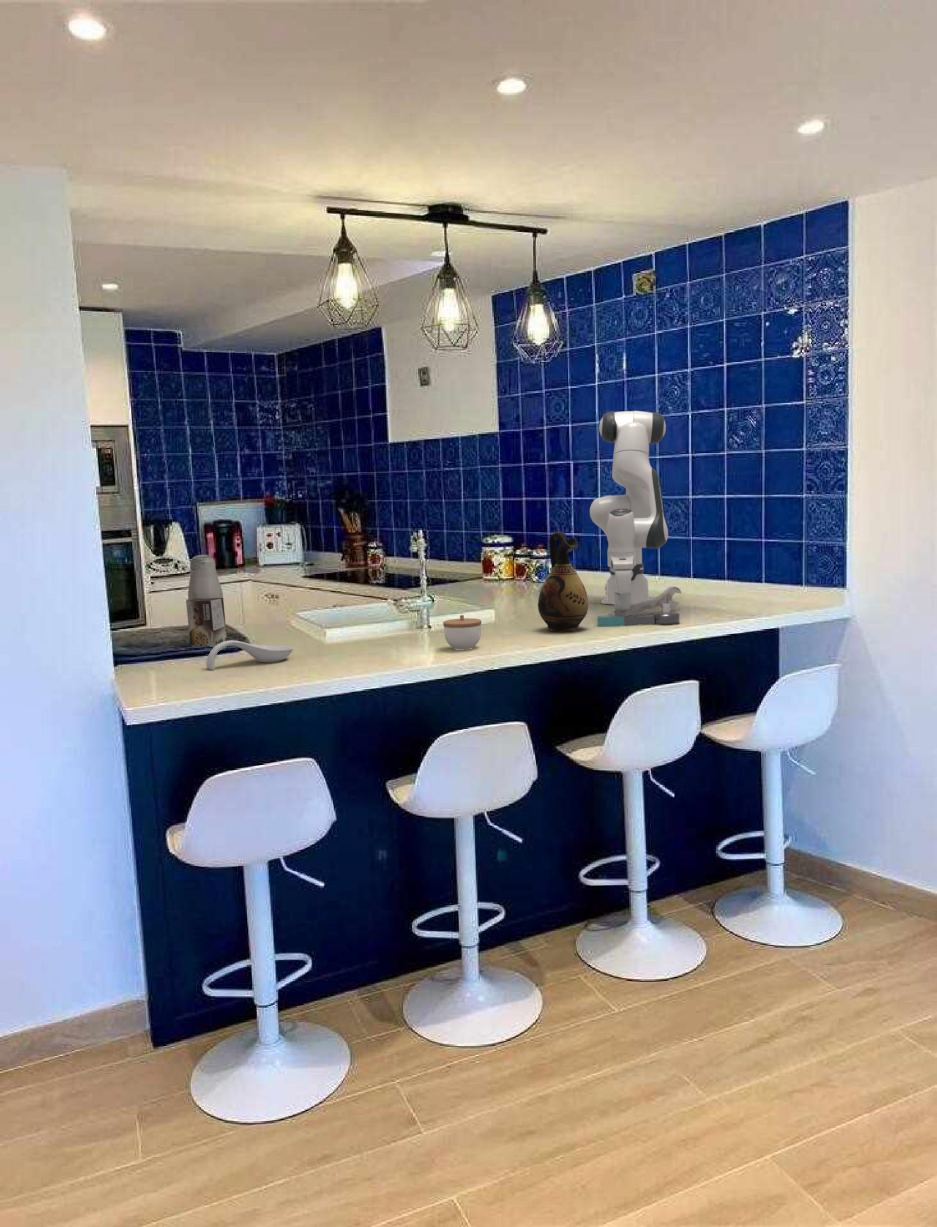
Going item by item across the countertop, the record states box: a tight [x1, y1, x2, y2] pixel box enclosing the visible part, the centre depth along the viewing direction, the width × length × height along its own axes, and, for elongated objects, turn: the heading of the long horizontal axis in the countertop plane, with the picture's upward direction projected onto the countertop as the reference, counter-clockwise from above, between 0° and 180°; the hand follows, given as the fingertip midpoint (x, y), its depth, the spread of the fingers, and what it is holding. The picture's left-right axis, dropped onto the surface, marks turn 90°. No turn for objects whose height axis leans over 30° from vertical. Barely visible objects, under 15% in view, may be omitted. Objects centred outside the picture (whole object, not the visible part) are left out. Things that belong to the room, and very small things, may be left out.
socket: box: [613, 592, 632, 611], centre depth 306 cm, size 5×5×5 cm
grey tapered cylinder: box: [187, 554, 224, 601], centre depth 300 cm, size 10×10×28 cm
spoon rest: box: [205, 639, 294, 671], centre depth 262 cm, size 24×12×7 cm, turn 123°
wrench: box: [607, 586, 682, 616], centre depth 318 cm, size 8×2×30 cm
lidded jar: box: [442, 614, 482, 650], centre depth 270 cm, size 11×11×9 cm
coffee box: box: [185, 597, 228, 648], centre depth 283 cm, size 9×6×16 cm
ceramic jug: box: [537, 531, 589, 633], centre depth 293 cm, size 17×15×30 cm
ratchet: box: [596, 604, 680, 627], centre depth 297 cm, size 8×25×6 cm, turn 85°
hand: (622, 603), depth 306 cm, fingers closed on socket, 5 cm apart
